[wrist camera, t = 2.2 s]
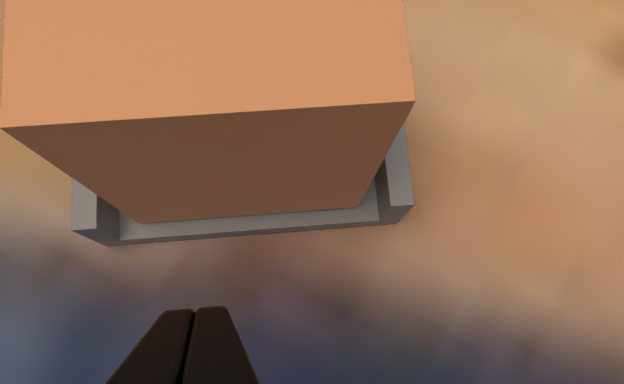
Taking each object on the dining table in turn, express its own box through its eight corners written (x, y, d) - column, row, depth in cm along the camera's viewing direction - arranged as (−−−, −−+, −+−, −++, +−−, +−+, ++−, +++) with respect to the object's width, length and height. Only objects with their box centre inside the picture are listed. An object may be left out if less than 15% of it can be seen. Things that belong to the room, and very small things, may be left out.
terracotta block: (357, 207, 21) (415, 100, 11) (138, 223, 20) (-2, 127, 11) (347, 106, 22) (392, -74, 12) (137, 119, 21) (8, -55, 12)
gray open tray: (395, 223, 22) (418, 200, 18) (105, 245, 21) (65, 227, 18) (353, -129, 26) (364, -209, 22) (106, -118, 25) (73, -199, 21)
